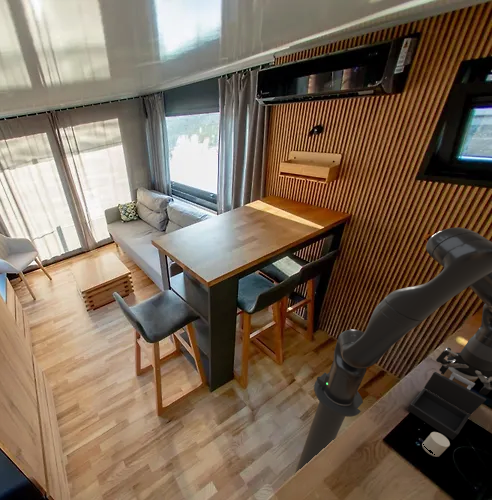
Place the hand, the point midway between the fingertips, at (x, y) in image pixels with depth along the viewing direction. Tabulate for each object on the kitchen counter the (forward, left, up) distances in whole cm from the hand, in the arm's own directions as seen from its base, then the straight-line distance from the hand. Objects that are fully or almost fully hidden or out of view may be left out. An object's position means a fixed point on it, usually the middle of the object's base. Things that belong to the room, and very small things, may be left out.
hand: (461, 382), depth 85 cm
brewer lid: (0, -3, -4) cm, 5 cm away
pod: (+3, -21, -13) cm, 25 cm away
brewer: (0, -7, -13) cm, 15 cm away
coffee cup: (-1, +9, -13) cm, 16 cm away
